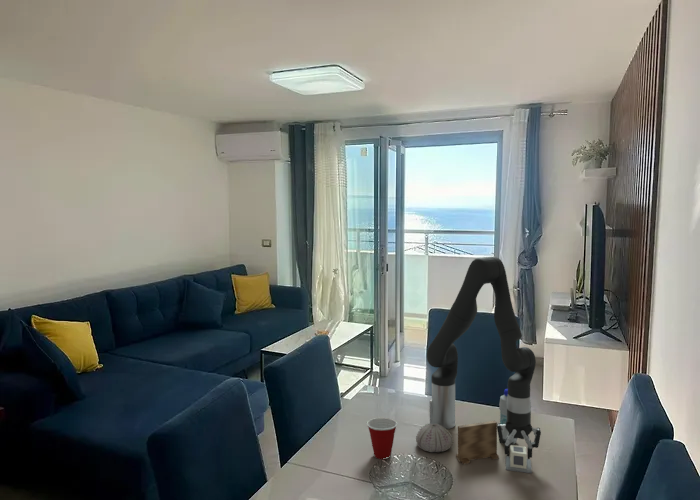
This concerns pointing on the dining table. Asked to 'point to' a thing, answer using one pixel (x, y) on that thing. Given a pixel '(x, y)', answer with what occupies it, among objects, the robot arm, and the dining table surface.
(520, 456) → the white marker cube
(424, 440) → the sea urchin shell
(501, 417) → the bottle
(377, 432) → the plastic cup
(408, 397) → the dining table surface
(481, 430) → the walnut screen
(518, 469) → the slate coaster
